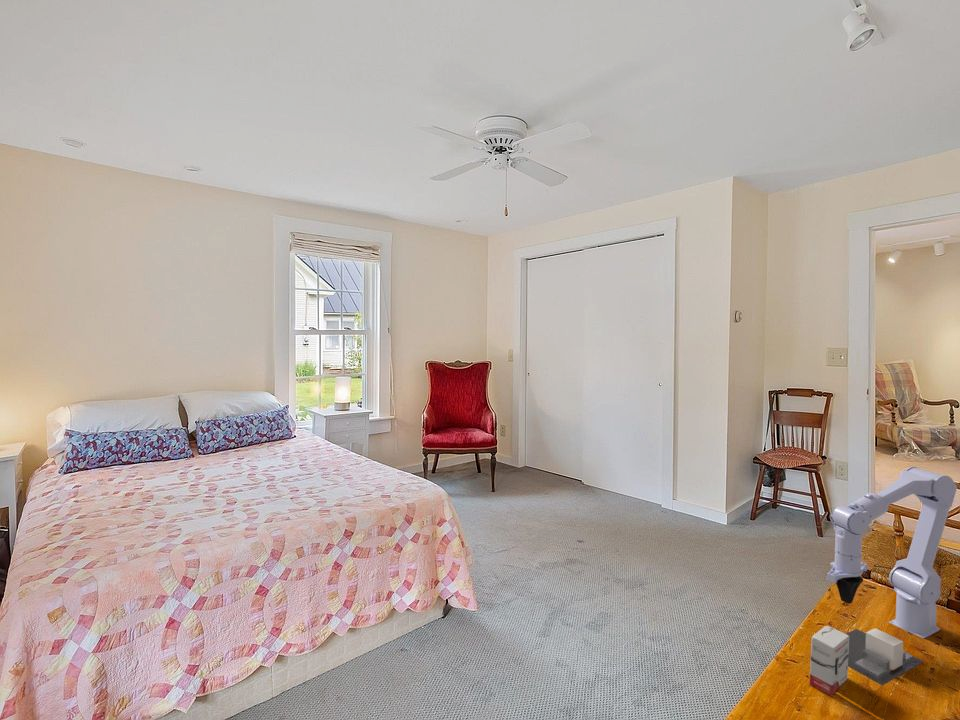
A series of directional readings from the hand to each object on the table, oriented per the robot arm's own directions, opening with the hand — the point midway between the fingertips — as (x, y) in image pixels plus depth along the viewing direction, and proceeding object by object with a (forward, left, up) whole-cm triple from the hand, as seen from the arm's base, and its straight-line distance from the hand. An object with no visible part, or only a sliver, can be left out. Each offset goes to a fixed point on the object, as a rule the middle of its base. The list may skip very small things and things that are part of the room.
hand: (846, 601), depth 135 cm
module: (+4, +11, -8) cm, 14 cm away
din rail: (+4, +7, -10) cm, 13 cm away
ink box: (+22, +9, -10) cm, 26 cm away
